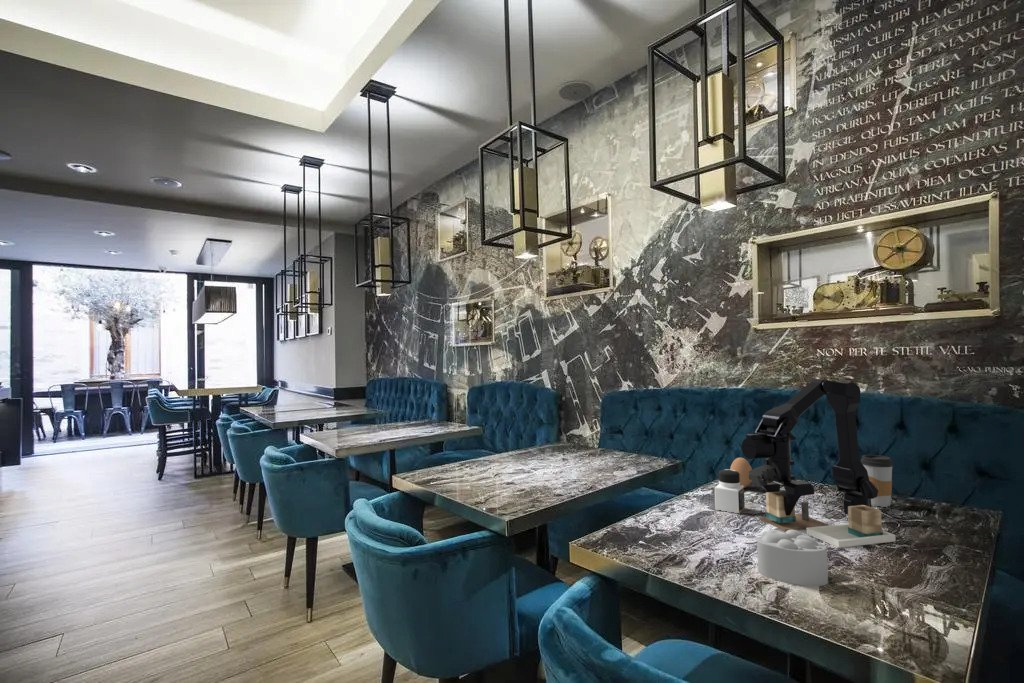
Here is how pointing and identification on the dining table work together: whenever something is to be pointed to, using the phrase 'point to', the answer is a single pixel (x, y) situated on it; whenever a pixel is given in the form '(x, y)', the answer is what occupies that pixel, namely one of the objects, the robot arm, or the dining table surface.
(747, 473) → the egg
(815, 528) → the feeder tray
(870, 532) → the sleeve
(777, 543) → the lumpy-topped squat cylinder
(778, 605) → the dining table surface
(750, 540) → the dining table surface
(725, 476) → the medicine bottle
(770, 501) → the oak sleeve
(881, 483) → the coffee cup
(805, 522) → the pin board
